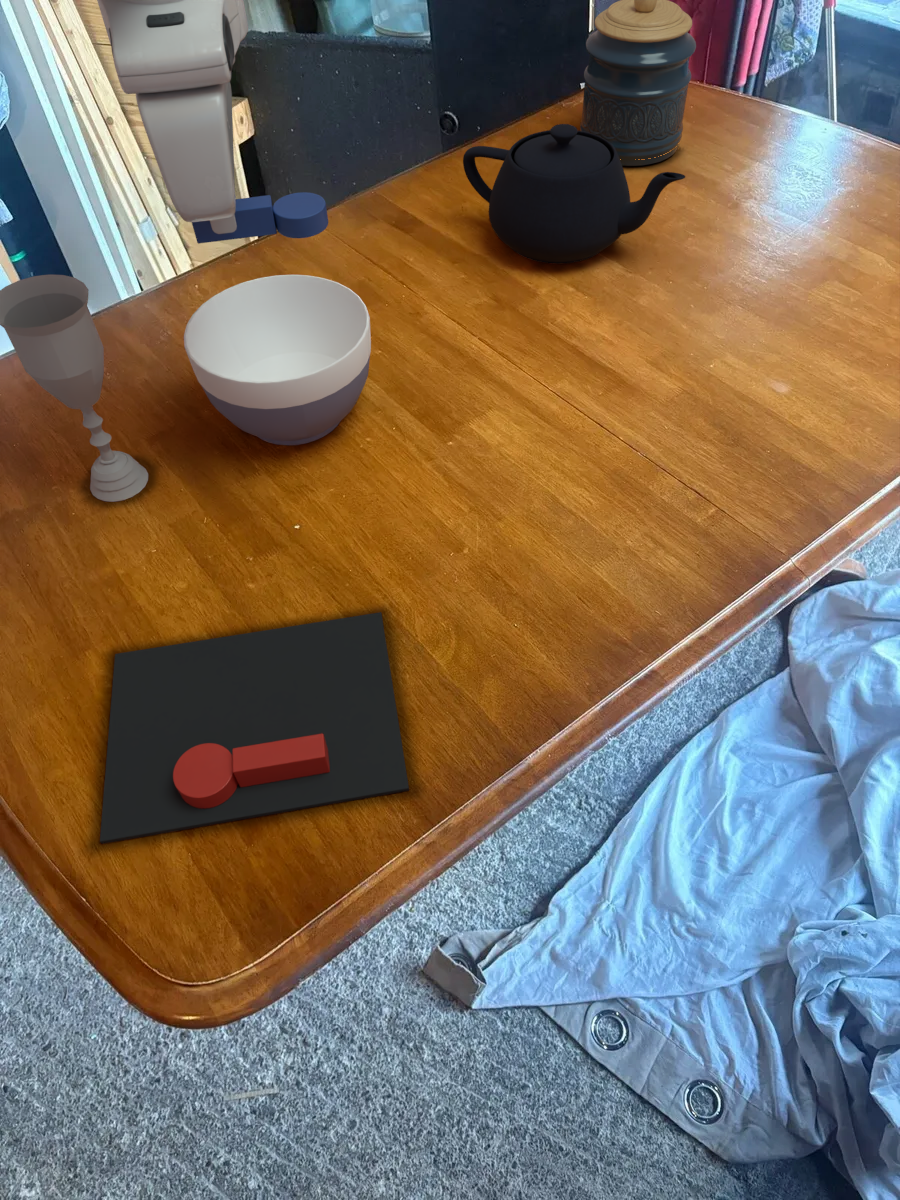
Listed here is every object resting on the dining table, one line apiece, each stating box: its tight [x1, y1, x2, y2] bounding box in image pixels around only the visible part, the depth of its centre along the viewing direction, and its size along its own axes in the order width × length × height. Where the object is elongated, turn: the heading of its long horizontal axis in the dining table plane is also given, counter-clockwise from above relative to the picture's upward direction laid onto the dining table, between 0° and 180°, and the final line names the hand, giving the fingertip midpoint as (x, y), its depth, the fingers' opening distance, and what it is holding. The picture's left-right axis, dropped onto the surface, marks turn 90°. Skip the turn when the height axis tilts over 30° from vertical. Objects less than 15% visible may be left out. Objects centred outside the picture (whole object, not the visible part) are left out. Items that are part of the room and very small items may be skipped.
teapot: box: [462, 123, 686, 265], centre depth 96 cm, size 25×16×12 cm, turn 63°
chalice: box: [0, 273, 149, 503], centre depth 72 cm, size 7×7×18 cm
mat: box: [99, 611, 410, 845], centre depth 62 cm, size 20×15×1 cm
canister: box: [579, 0, 697, 167], centre depth 108 cm, size 13×13×18 cm
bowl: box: [183, 274, 372, 446], centre depth 80 cm, size 16×16×10 cm
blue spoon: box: [191, 191, 329, 245], centre depth 67 cm, size 10×4×2 cm, turn 99°
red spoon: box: [173, 734, 330, 808], centre depth 59 cm, size 10×4×2 cm, turn 100°
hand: (225, 218), depth 67 cm, fingers closed on blue spoon, 2 cm apart
